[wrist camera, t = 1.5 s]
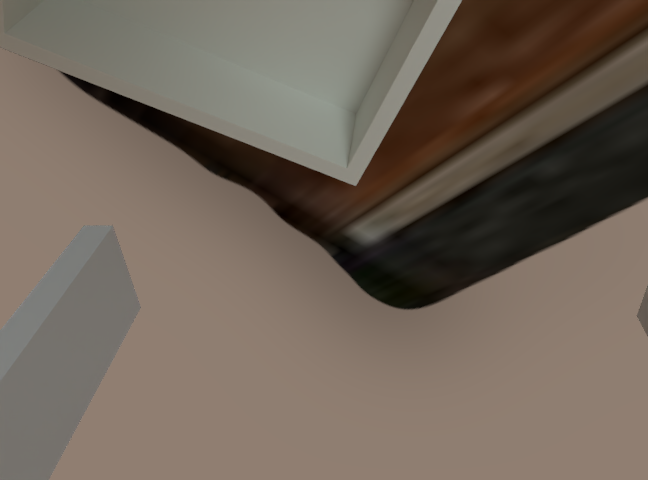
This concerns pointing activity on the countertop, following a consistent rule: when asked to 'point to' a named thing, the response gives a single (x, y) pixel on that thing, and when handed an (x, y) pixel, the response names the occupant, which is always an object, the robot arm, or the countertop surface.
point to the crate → (247, 64)
